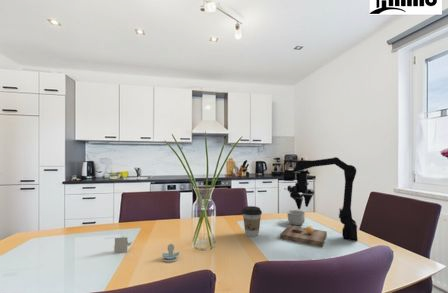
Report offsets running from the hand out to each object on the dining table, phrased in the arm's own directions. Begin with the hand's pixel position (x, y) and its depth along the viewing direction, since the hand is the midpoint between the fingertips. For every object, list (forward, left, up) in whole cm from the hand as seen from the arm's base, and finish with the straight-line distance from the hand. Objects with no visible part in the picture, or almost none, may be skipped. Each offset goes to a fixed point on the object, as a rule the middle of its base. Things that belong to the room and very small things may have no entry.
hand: (302, 208), depth 132 cm
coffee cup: (+24, +20, -14) cm, 34 cm away
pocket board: (-2, +9, -14) cm, 17 cm away
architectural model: (+67, +72, -15) cm, 99 cm away
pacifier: (+42, +66, -14) cm, 79 cm away
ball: (-5, +9, -9) cm, 14 cm away
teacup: (+8, -14, -14) cm, 21 cm away
